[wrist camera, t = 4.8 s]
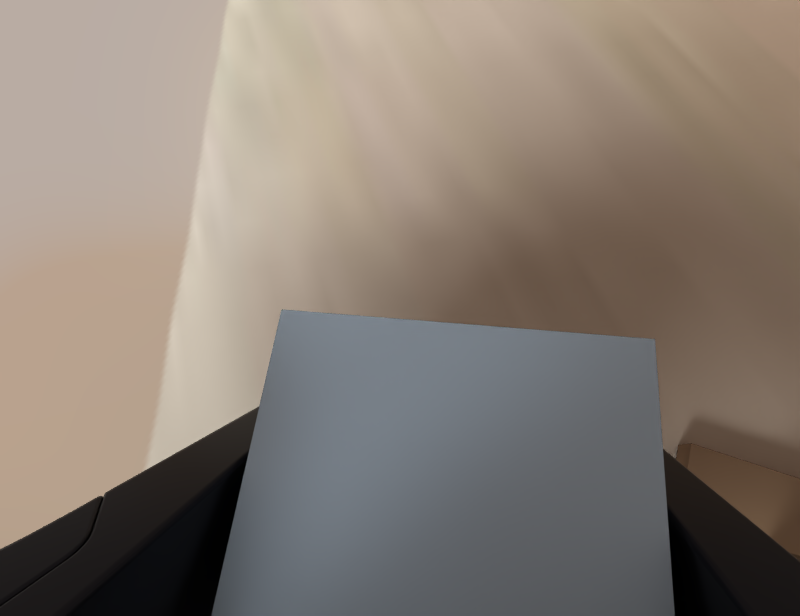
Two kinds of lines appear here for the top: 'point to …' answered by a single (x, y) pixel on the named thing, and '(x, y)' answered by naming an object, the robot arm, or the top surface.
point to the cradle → (751, 491)
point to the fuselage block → (451, 475)
